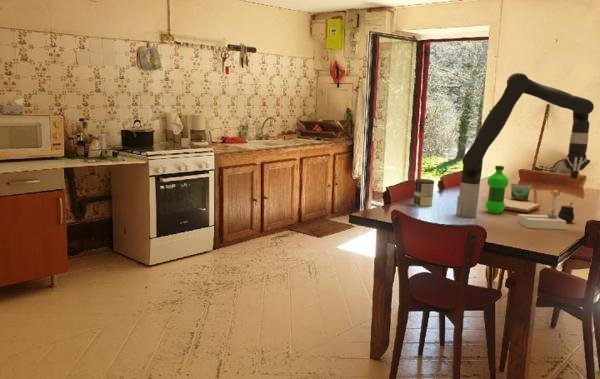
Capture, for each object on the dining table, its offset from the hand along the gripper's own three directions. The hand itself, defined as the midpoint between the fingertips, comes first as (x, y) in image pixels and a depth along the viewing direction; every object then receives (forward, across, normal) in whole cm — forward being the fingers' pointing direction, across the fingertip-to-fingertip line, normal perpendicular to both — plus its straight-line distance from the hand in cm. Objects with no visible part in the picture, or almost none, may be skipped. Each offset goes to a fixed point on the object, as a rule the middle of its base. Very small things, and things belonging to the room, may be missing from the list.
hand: (573, 178), depth 247 cm
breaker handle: (+19, +8, 0) cm, 21 cm away
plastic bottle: (+24, +25, -27) cm, 44 cm away
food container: (+24, -6, -66) cm, 71 cm away
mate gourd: (+24, -5, -11) cm, 27 cm away
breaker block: (+24, +13, 0) cm, 27 cm away
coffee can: (+24, +61, -38) cm, 76 cm away
